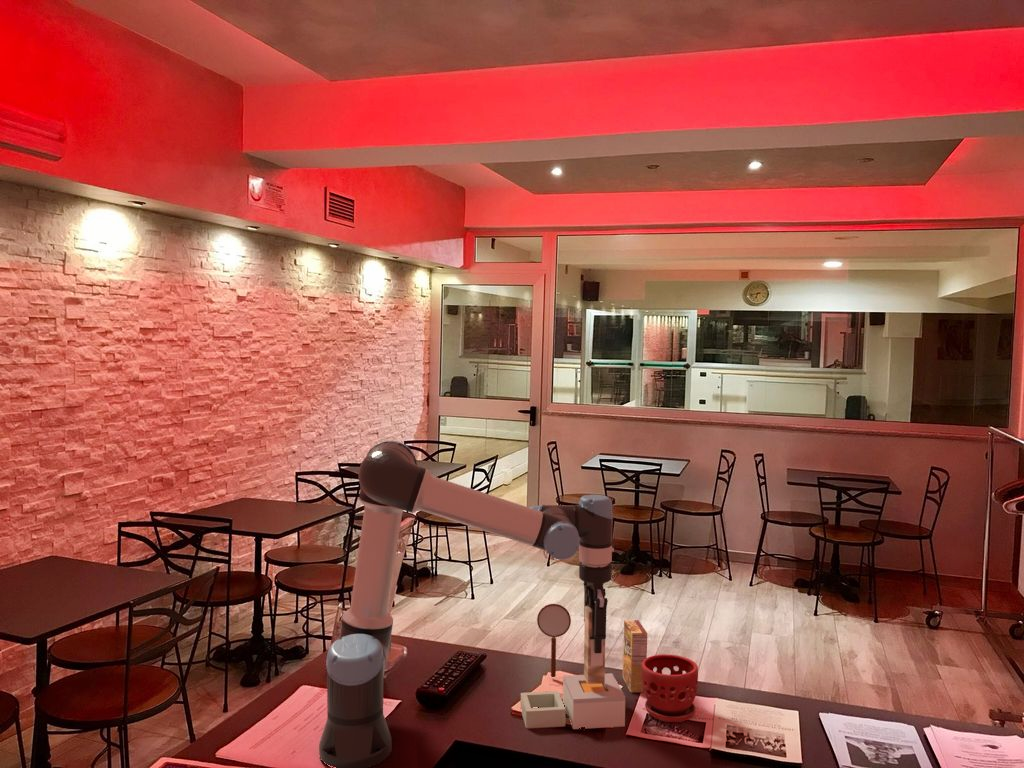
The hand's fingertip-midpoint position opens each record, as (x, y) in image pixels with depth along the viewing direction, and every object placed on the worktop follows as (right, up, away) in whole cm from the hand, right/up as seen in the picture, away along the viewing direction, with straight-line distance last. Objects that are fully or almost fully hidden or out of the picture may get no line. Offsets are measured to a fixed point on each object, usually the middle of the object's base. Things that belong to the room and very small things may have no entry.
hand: (594, 660), depth 182 cm
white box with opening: (0, -13, +1) cm, 13 cm away
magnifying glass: (-9, -12, +19) cm, 24 cm away
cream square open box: (-12, -13, -1) cm, 18 cm away
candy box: (+12, -12, +17) cm, 24 cm away
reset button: (0, -10, +1) cm, 10 cm away
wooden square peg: (0, -5, 0) cm, 5 cm away
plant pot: (+18, -13, +2) cm, 22 cm away
